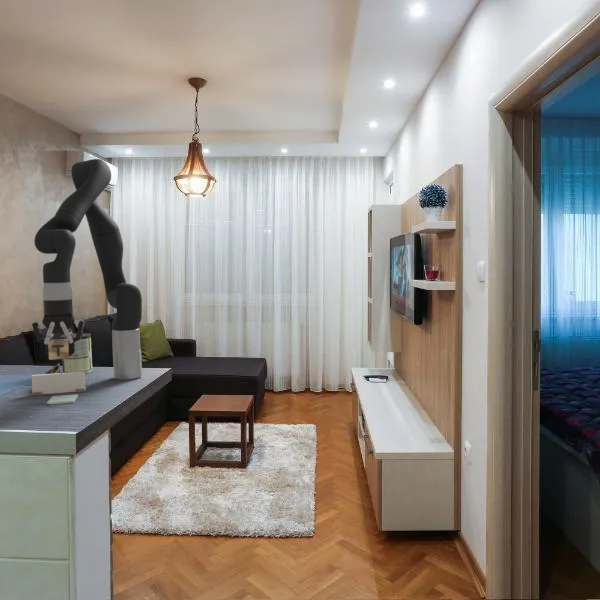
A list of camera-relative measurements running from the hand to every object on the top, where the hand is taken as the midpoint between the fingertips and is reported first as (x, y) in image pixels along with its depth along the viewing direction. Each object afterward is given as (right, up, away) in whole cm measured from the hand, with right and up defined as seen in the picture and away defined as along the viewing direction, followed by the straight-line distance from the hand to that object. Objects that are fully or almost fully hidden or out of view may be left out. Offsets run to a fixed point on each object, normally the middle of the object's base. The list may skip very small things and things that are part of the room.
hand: (60, 355), depth 137 cm
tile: (0, -13, +1) cm, 13 cm away
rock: (-12, -13, +16) cm, 24 cm away
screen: (-5, -13, +10) cm, 17 cm away
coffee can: (-13, -11, +39) cm, 42 cm away
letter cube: (0, 0, 0) cm, 0 cm away
